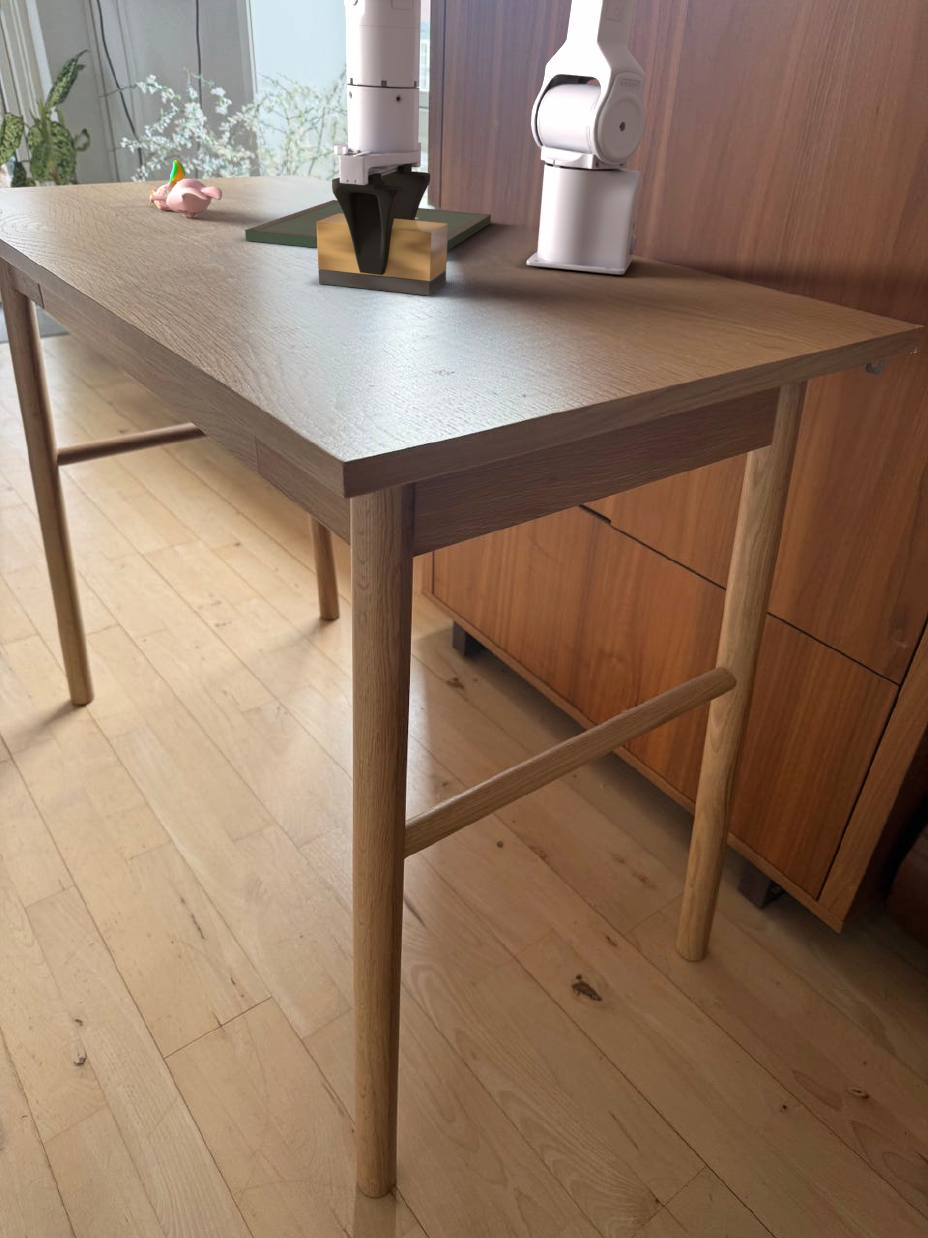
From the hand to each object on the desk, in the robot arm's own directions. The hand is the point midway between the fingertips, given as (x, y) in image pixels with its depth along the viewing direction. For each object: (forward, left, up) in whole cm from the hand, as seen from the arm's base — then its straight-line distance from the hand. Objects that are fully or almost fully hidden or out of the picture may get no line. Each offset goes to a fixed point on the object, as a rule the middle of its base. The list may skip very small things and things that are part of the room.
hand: (383, 266), depth 81 cm
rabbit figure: (+31, -22, -2) cm, 38 cm away
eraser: (0, 0, -1) cm, 1 cm away
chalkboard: (+9, -24, -1) cm, 26 cm away
